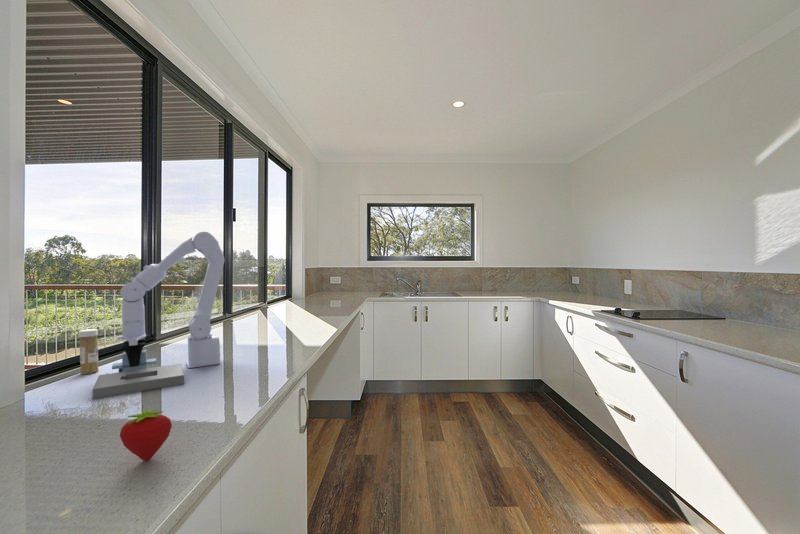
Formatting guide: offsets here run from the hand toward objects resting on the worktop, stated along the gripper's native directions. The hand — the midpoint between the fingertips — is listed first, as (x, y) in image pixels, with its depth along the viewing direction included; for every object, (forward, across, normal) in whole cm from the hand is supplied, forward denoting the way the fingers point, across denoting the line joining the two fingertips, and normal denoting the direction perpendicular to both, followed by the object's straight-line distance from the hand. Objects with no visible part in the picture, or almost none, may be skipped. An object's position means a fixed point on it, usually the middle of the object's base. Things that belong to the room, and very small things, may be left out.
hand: (134, 364), depth 116 cm
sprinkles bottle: (+3, -9, -12) cm, 15 cm away
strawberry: (+3, +64, +4) cm, 64 cm away
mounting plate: (+3, +14, +2) cm, 14 cm away
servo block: (+3, 0, 0) cm, 3 cm away
